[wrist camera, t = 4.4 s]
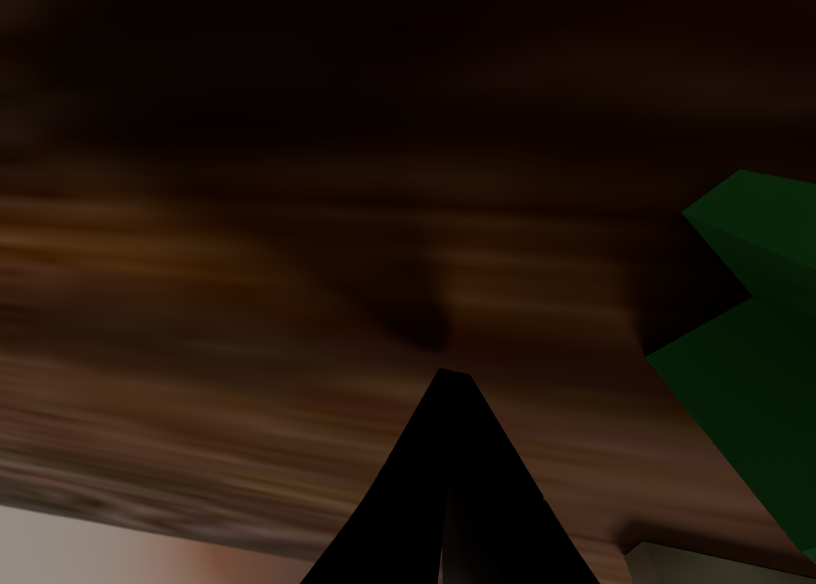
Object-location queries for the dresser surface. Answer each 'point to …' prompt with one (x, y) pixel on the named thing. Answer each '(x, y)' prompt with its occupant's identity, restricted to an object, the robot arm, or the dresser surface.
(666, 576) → the slot rails
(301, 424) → the dresser surface
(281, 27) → the dresser surface
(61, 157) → the dresser surface
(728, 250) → the pipe clamp
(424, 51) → the dresser surface
